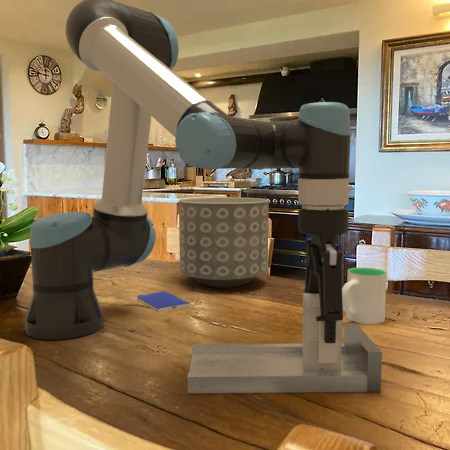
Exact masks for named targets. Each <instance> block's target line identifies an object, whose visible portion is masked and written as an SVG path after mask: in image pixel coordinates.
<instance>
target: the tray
mask: <svg viewBox="0 0 450 450" xmlns="http://www.w3.org/2000/svg"><path fill="white" fill-rule="evenodd" d="M343 325H344V329H343V343H342V342H341V371H322V372H304V365H303V353H302V346H303V342H302V343H297V342H296V343H194V344H193V343H192V346H191V358H190V364H189V365H190V367H189V372H188V373H187V394H258V393H259V394H262V393H263V394H271V393H272V394H275V393H276V394H278V393H282V394H284V393H285V394H288V393H289V394H290V393H292V394H293V393H303V394H304V393H381V390H382V363H383V362H382V359H383V355H382V354H383V352H382V350H381V349H380V348H379V347H378V345H376V344H375V343H374V341H373V340H372V339H371V338H370V337H369V336H368V335H367V334H366V333H365V332H364V330H363V329H362V328H361V327H360V326H359V325H358V324H357V322H353V323H350V322H349V323H344V324H343Z"/></svg>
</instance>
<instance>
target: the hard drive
mask: <svg viewBox="0 0 450 450" xmlns="http://www.w3.org/2000/svg"><path fill="white" fill-rule="evenodd" d="M136 301H139V302H140V303H143V304H144V305H146V306H148V307H149V308H151V309H153V310H155V311H157V312H164V311H170V310H176V309H179V308H180V309H181V308H182V309H183V308H187V307H190V302H189V301H186V300H184V299H182V298H180V297H178V296H176V295H174V294H172V293H170V292H168V291H166V290H165V291H157V292H152V293H146V294H145V293H143V294H138V295H137V296H136Z"/></svg>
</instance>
